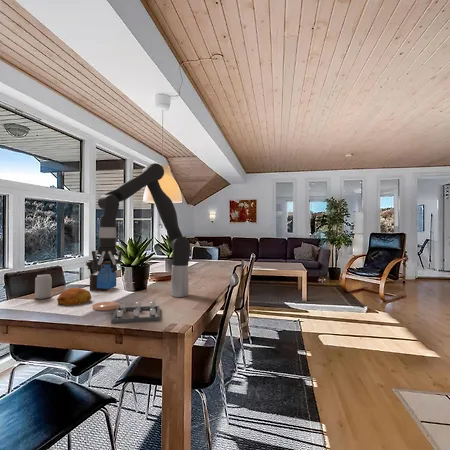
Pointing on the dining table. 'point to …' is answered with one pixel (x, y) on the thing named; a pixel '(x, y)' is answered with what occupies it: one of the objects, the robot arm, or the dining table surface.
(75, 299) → the croissant
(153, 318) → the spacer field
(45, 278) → the can
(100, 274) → the perfume bottle
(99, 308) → the peach round disc
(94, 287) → the black coffee grinder
